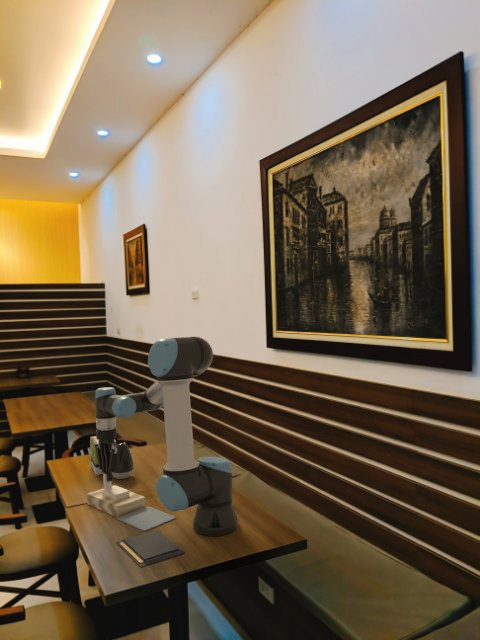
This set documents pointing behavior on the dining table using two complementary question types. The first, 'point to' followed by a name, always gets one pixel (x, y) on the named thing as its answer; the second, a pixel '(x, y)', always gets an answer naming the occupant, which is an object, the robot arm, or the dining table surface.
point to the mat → (146, 518)
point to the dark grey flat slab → (149, 548)
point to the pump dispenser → (123, 462)
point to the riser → (116, 503)
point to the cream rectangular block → (115, 492)
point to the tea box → (95, 455)
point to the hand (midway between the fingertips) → (107, 489)
